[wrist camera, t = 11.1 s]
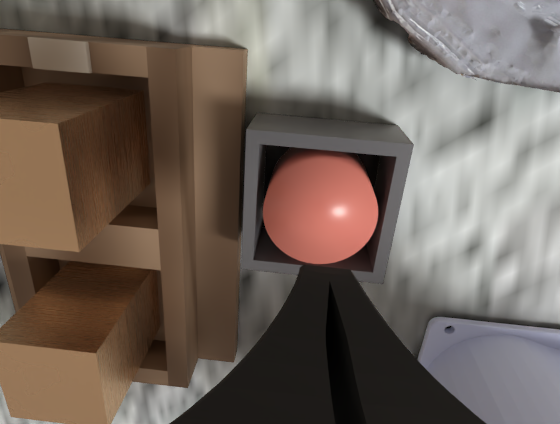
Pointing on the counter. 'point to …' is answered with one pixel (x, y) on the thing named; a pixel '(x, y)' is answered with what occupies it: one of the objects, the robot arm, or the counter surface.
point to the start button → (320, 205)
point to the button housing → (330, 137)
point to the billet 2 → (79, 343)
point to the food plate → (486, 37)
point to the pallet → (157, 185)
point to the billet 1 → (68, 162)
